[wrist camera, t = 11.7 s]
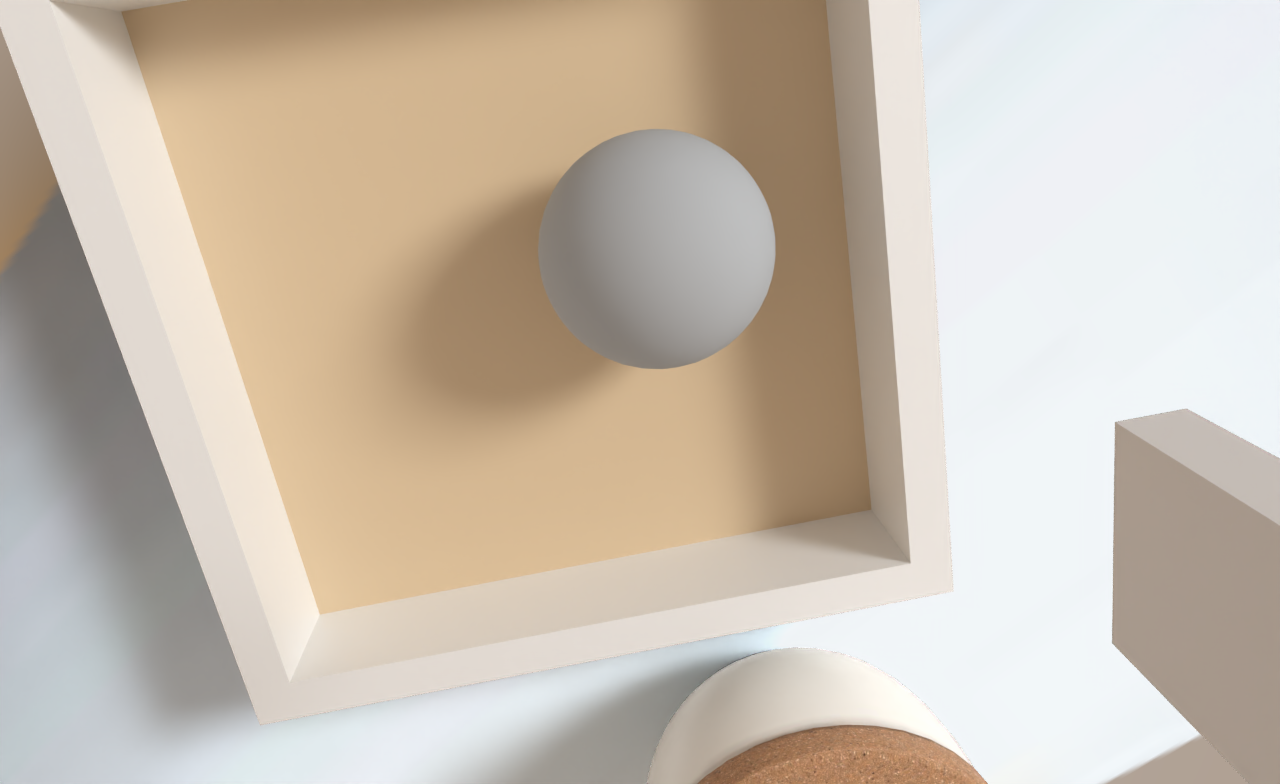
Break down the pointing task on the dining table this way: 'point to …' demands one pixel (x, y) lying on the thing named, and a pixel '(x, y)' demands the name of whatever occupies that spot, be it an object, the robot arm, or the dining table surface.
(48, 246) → the dining table surface
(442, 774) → the dining table surface
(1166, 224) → the dining table surface
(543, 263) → the ball
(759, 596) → the square serving dish
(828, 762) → the lidded jar
